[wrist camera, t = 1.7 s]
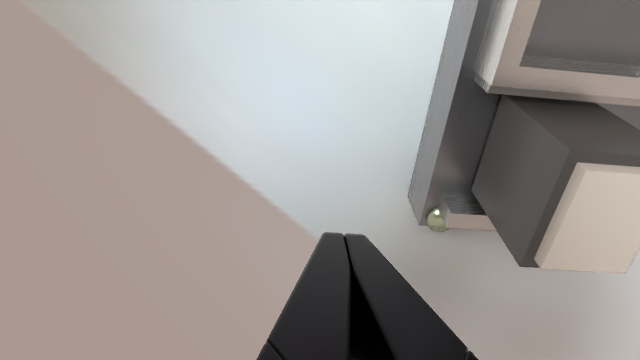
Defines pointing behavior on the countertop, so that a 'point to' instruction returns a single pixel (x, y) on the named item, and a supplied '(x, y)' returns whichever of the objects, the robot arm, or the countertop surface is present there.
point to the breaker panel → (516, 86)
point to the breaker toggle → (562, 184)
